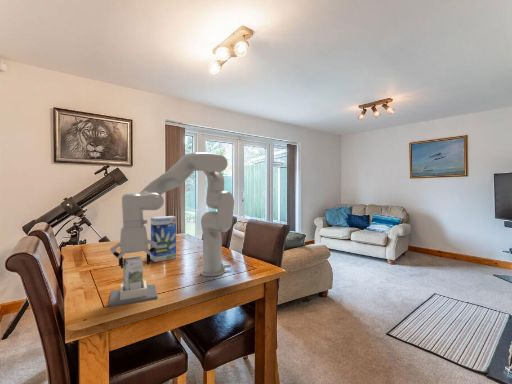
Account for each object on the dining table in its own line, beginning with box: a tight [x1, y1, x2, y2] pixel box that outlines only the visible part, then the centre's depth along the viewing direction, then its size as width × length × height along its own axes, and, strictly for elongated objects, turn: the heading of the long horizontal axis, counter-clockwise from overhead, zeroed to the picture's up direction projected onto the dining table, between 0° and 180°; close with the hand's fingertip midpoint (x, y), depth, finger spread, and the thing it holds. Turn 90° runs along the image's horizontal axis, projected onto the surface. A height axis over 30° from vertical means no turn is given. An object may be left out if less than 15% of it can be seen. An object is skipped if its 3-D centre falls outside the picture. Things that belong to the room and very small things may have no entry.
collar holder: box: [108, 279, 159, 308], centre depth 108 cm, size 17×14×4 cm
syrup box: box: [123, 255, 144, 291], centre depth 108 cm, size 6×6×14 cm
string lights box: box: [150, 215, 177, 263], centre depth 161 cm, size 13×8×26 cm, turn 131°
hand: (135, 265), depth 108 cm, fingers open, 9 cm apart
